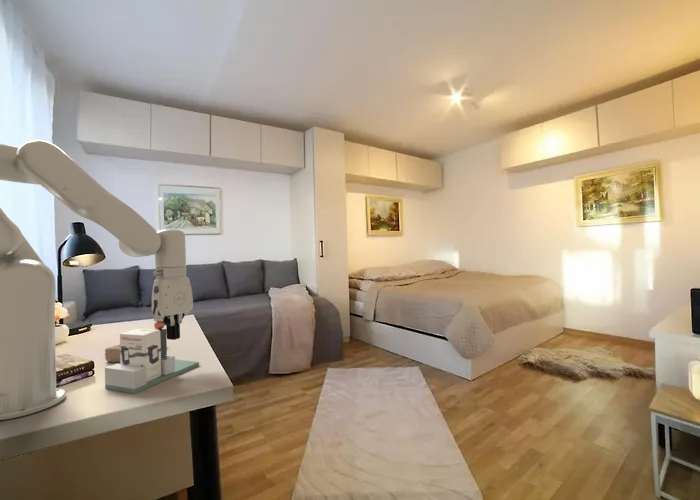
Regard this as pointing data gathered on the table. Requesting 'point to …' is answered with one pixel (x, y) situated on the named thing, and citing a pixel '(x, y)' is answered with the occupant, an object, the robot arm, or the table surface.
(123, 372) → the vise
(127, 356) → the ink box
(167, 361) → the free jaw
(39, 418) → the table surface
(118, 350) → the brick
